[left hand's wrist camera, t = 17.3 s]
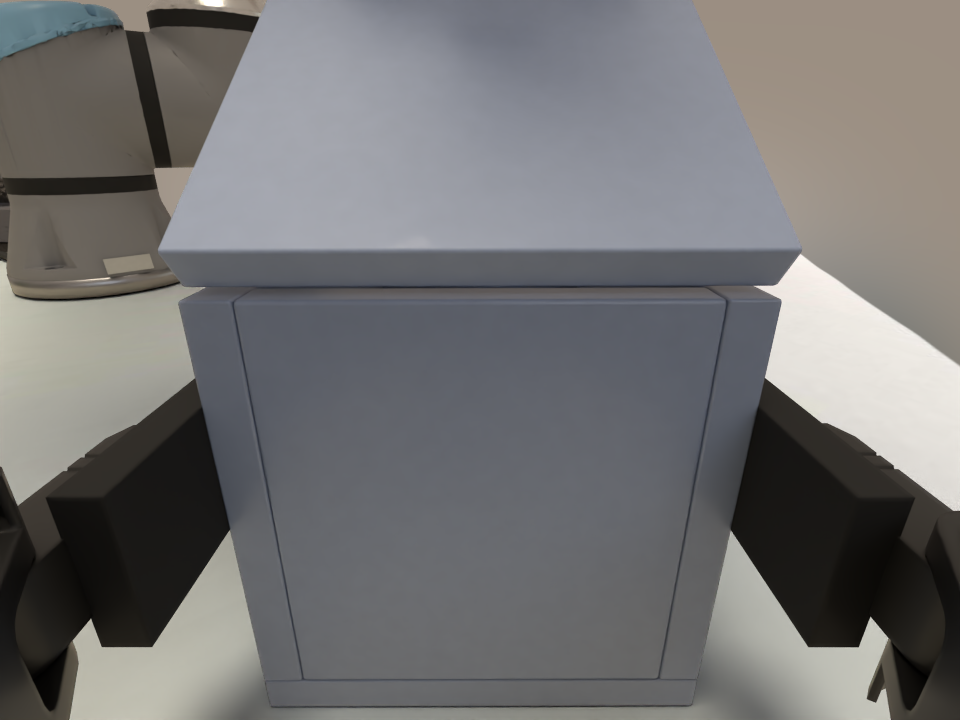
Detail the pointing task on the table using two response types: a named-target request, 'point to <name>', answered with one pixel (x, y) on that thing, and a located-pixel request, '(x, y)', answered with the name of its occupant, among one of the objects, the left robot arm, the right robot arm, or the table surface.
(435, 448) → the chest
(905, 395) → the table surface
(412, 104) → the lid
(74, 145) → the right robot arm
